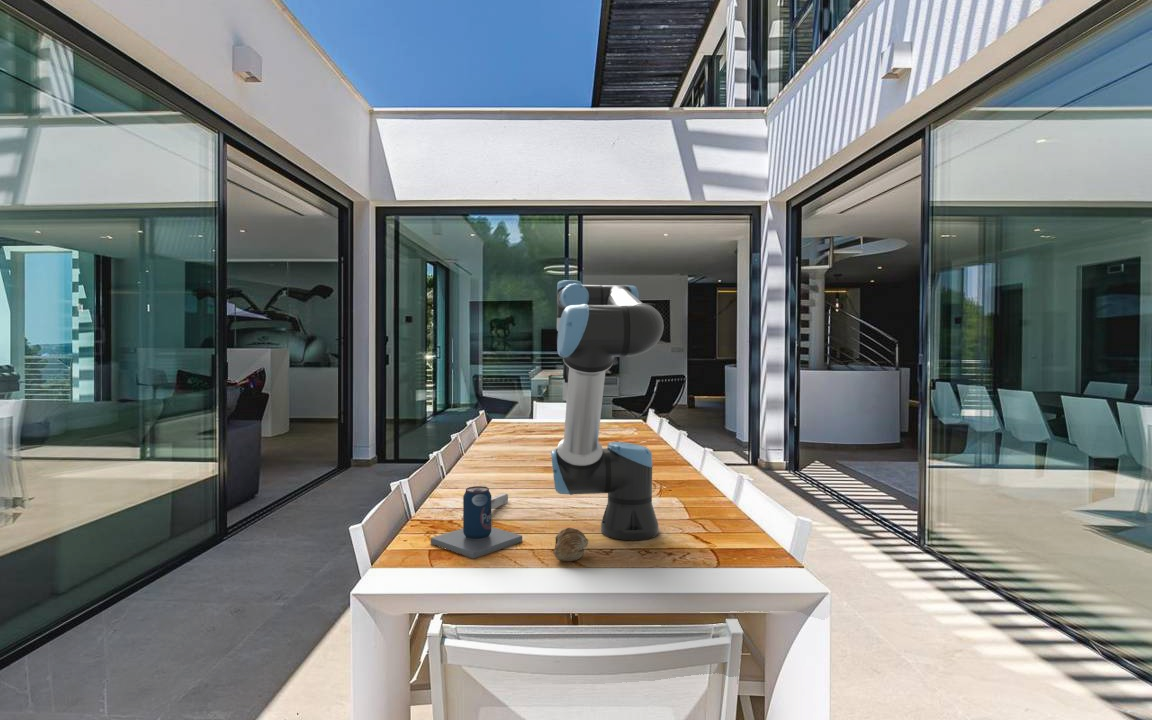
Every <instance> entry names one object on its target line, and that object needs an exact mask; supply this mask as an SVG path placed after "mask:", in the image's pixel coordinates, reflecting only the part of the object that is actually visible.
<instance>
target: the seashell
mask: <svg viewBox="0 0 1152 720" xmlns="http://www.w3.org/2000/svg"><path fill="white" fill-rule="evenodd" d="M588 545H589V539H588V538H587V537H586V535H585V534H584V533H583V532H582V531H581V530H579V529H578V528H577V529H576V528H572V527H566V528H565V529H562V530H561V531H559V532H558V533H557V535H556V537H555V546H554V549H553V555H554V557H555V558H556V559H557V560H559V561H560V562H574V561H577V560H579V559H581V558H582V557H583V556H584V554H585V551H586V550H585V549H586V548H587V547H588Z"/></svg>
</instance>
